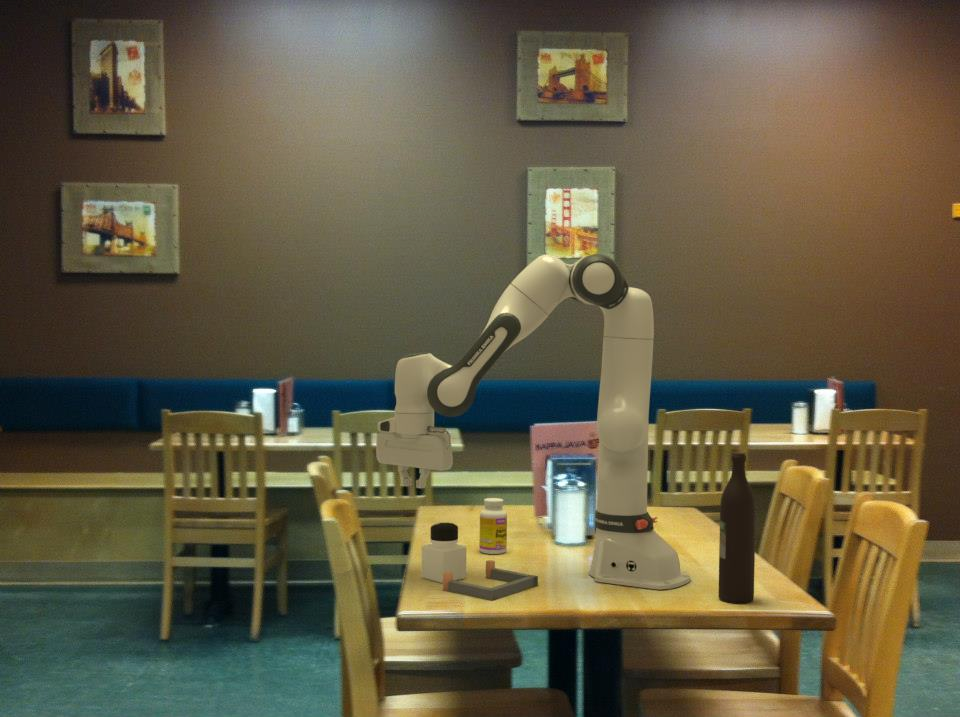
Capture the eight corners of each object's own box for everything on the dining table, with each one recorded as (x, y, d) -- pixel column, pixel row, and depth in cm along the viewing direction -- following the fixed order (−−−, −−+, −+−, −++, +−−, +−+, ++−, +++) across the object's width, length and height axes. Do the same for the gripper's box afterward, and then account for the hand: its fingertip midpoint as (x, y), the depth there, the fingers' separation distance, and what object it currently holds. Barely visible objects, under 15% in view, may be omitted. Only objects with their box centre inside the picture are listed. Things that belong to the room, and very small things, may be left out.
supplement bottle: (495, 556, 259) (496, 502, 259) (473, 552, 263) (474, 499, 263) (512, 551, 264) (512, 499, 264) (490, 547, 268) (490, 496, 268)
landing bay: (538, 585, 231) (538, 569, 231) (491, 600, 218) (491, 583, 218) (489, 575, 239) (489, 559, 239) (441, 590, 226) (441, 573, 226)
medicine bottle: (466, 578, 237) (467, 524, 236) (442, 583, 232) (443, 528, 231) (444, 572, 242) (445, 519, 241) (420, 577, 237) (421, 523, 236)
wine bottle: (733, 593, 226) (736, 450, 225) (761, 600, 220) (764, 454, 219) (711, 598, 222) (713, 452, 221) (738, 605, 216) (741, 456, 215)
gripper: (459, 427, 237) (458, 490, 238) (391, 421, 250) (390, 480, 250) (440, 429, 232) (440, 493, 233) (371, 423, 245) (371, 483, 245)
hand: (413, 486), depth 242 cm, fingers open, 3 cm apart
